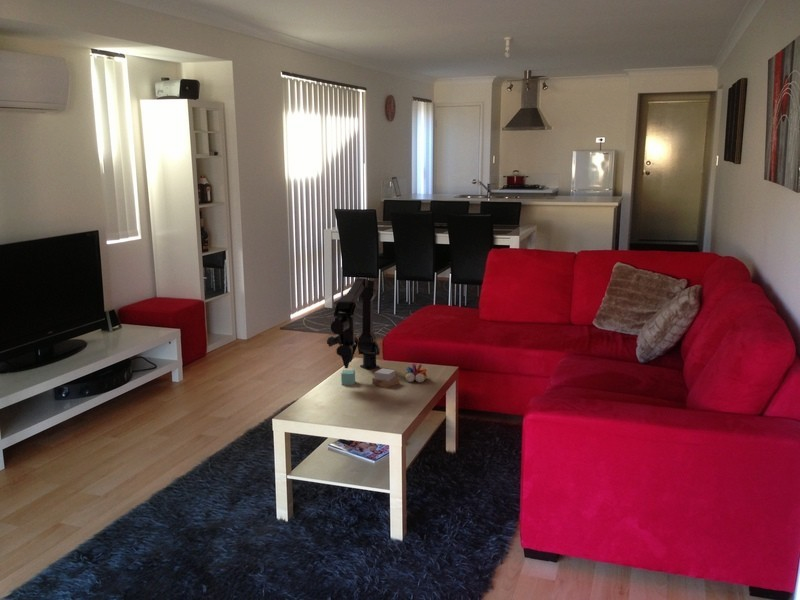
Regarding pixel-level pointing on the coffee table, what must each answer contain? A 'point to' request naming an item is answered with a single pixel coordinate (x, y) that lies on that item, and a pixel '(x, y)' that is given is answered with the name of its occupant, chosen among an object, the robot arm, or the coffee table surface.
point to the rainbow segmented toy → (415, 374)
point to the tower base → (385, 382)
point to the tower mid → (385, 374)
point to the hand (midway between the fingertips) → (348, 365)
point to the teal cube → (348, 377)
